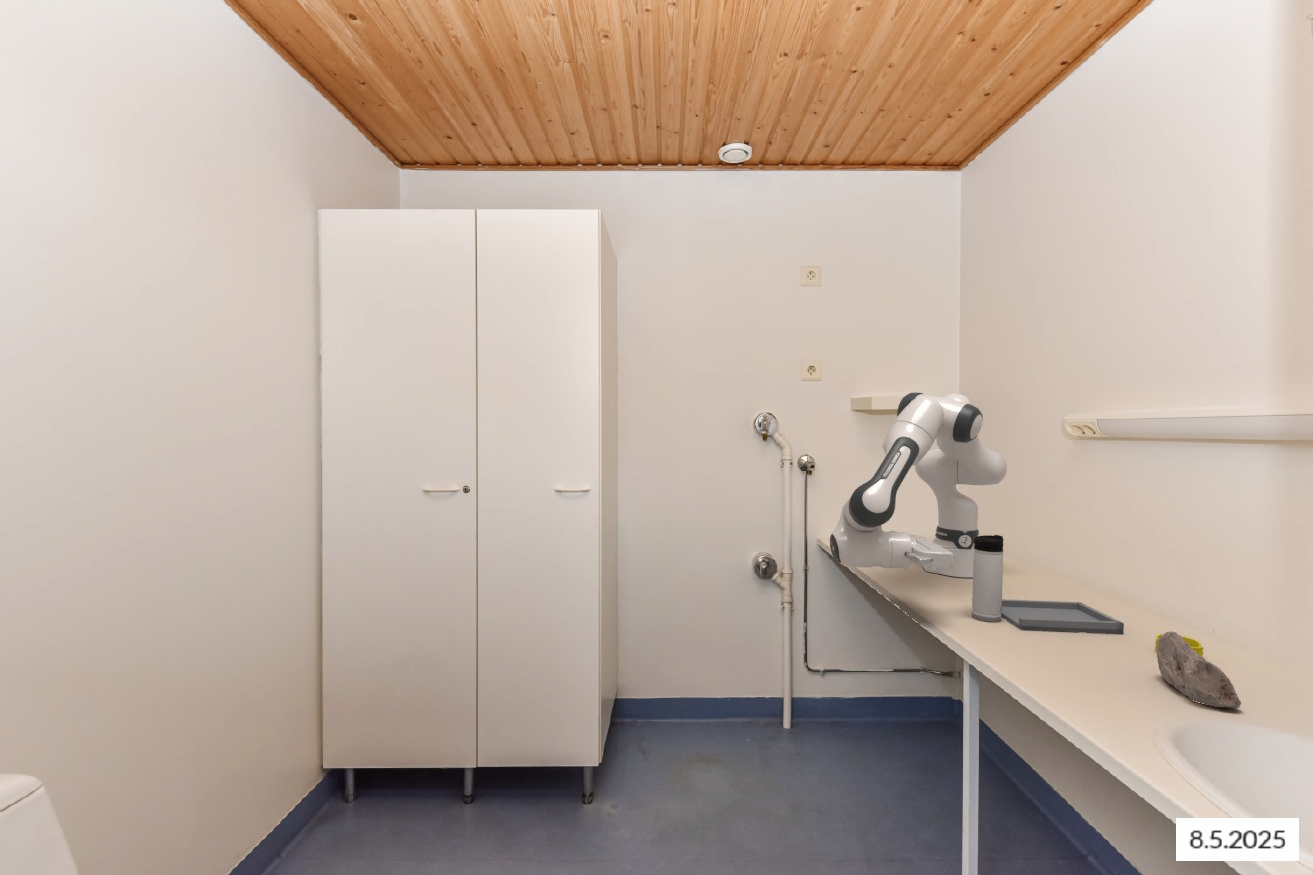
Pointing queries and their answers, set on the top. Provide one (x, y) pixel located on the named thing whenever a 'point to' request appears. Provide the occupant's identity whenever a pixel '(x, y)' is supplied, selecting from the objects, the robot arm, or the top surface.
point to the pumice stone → (1194, 673)
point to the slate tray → (1058, 617)
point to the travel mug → (987, 578)
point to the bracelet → (1193, 643)
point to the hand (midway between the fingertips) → (957, 551)
